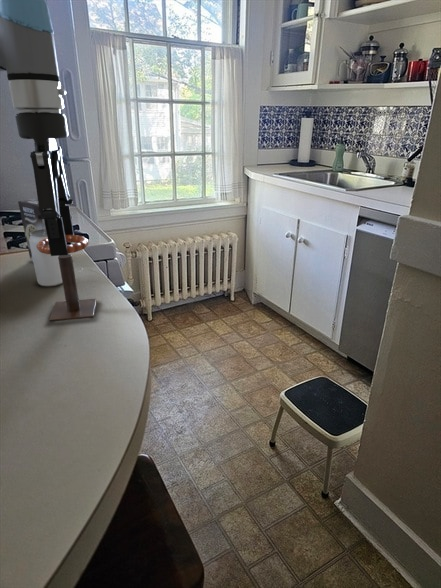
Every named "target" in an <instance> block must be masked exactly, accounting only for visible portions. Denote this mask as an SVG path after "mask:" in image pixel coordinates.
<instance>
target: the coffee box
mask: <svg viewBox="0 0 441 588" xmlns="http://www.w3.org/2000/svg"><path fill="white" fill-rule="evenodd" d="M17 204H18V208H19V213H20V217H21V223H22V226H23V231H24V237H25V241H26V246H27V251H28V255H29V259H30V262H32V263H33V259H32V254H31V249H30V244H29V239H30V233H31V232H33V231H36V230H41V229H46V227H45V221H44V219H39V218H38V215H40V214H39V212H40V211H39V204H38V197H37V198H29V199H24V200H19V201H17ZM47 210H52V209H47ZM66 244H67V245H68V242H66Z"/></svg>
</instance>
